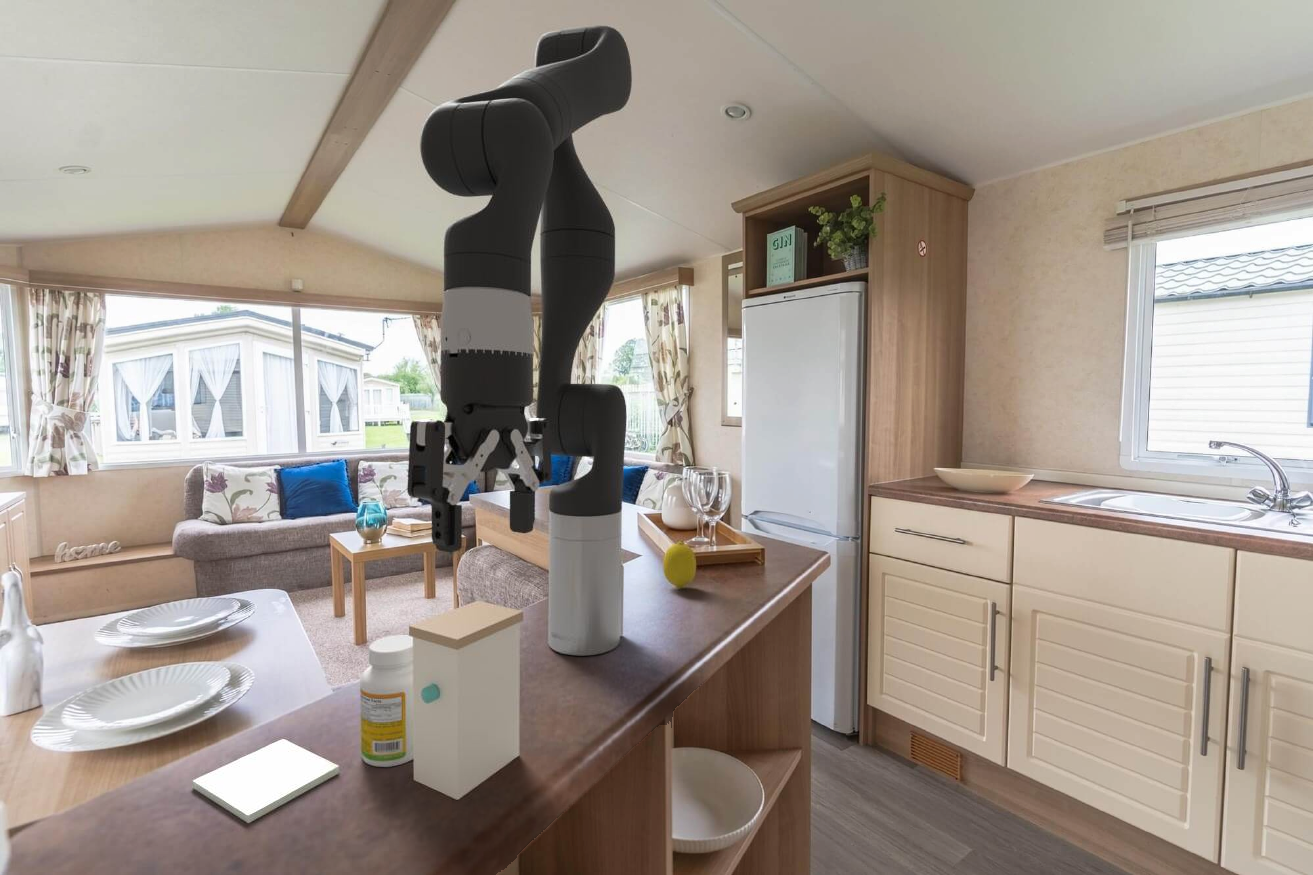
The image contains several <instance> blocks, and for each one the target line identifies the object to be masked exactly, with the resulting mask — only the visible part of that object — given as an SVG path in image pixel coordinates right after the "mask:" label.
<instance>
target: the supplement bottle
mask: <svg viewBox="0 0 1313 875" xmlns="http://www.w3.org/2000/svg"><path fill="white" fill-rule="evenodd" d="M368 663H369V665H370V666H368V667H367V668H365V670H364V671H363V672H362V674H361V677H360V685H359V689H360V690H359V691H360V692H359V694H360V698H359V699H360V751H361V752H360V753H361V758H362V760H363V762H365V763H366V764H368V765H369V766H373V767H377V768H378V767H379V768H381V767H382V768H388V767H395V766H400V765H404V764H406V763H408V762H410V761H413V760H414V747H413V637H412V636H409V635H408V634H397V635H396V634H395V635H391V636H390V635H389V636H385V637H382V638H379V639H376V640H375V641H373V642H372V643H371V644H369V647H368Z"/></svg>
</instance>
